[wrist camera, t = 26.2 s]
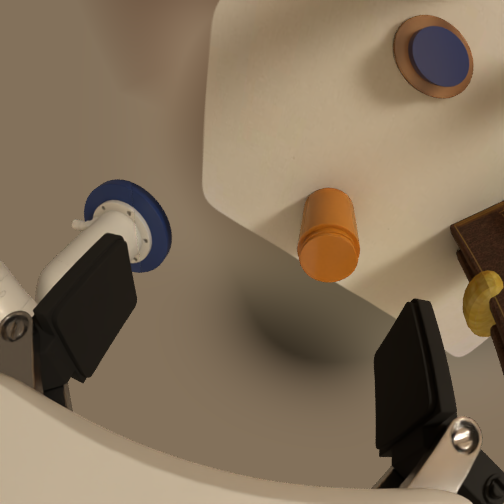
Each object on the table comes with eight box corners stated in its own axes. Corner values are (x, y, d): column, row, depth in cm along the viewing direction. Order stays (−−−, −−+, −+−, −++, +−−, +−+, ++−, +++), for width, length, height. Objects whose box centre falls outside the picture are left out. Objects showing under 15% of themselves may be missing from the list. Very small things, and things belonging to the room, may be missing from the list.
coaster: (386, 81, 26) (387, 81, 26) (398, 3, 20) (399, 2, 20) (462, 110, 25) (464, 110, 25) (476, 36, 19) (478, 36, 19)
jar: (302, 230, 39) (294, 282, 31) (304, 185, 36) (297, 228, 27) (350, 235, 38) (355, 288, 30) (356, 190, 34) (366, 234, 26)
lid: (473, 68, 21) (480, 68, 20) (435, 97, 25) (440, 99, 24) (436, 17, 19) (441, 15, 18) (395, 47, 23) (399, 45, 22)
